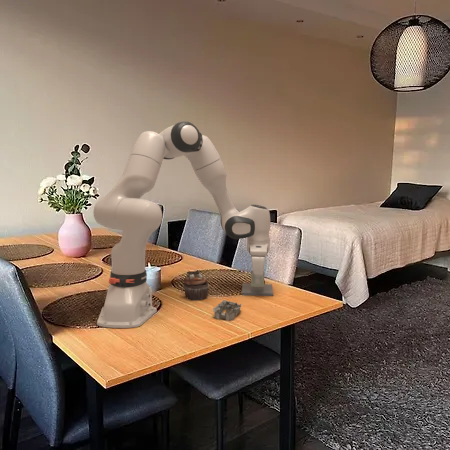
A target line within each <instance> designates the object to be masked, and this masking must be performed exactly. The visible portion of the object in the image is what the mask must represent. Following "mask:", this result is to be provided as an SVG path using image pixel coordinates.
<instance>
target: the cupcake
mask: <svg viewBox="0 0 450 450" xmlns="http://www.w3.org/2000/svg"><path fill="white" fill-rule="evenodd" d="M182 286H183V289H184V294H185V298H186V299H187V300H190V301H204V300H206V299H207V298H208V292H209V288H210V284H209V282H208V279H207V277H205V276H204V275H203V274H202V273H201V272H200V270H198V269H197V270H195V271H190V270H188V271H187V273H186V276H185V277H184V278H183V283H182Z"/></svg>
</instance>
